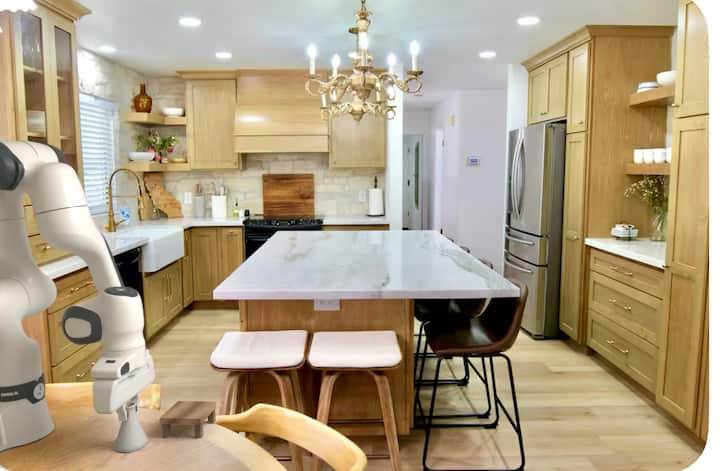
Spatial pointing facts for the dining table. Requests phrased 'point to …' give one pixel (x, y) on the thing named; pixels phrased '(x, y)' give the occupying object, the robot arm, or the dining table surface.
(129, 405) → the flask
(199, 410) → the walnut stand
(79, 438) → the dining table surface
